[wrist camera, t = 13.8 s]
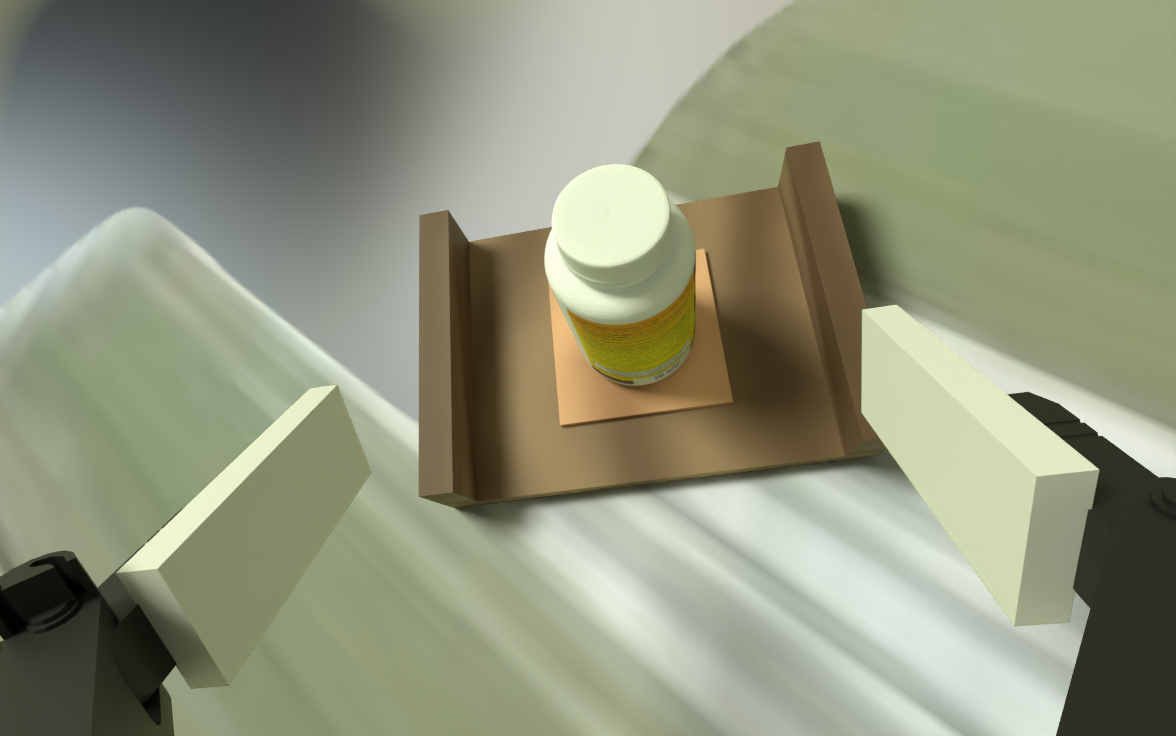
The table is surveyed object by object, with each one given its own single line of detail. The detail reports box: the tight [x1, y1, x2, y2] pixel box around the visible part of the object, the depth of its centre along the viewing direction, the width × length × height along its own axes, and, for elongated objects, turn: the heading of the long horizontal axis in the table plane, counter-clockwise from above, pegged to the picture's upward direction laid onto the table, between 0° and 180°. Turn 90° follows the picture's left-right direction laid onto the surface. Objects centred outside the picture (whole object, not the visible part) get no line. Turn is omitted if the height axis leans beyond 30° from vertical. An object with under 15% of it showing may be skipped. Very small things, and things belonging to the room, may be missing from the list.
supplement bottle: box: [544, 164, 696, 386], centre depth 24 cm, size 6×6×10 cm
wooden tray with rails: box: [419, 141, 886, 508], centre depth 29 cm, size 20×14×4 cm
